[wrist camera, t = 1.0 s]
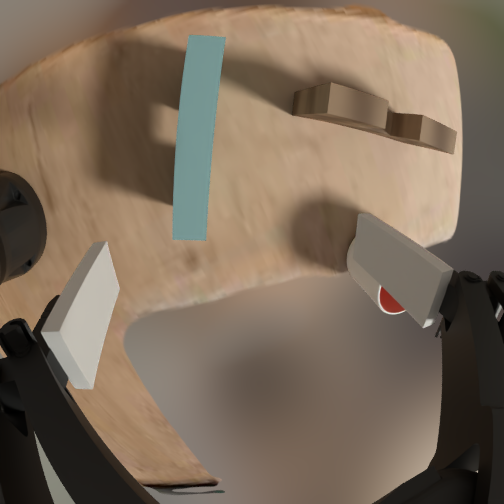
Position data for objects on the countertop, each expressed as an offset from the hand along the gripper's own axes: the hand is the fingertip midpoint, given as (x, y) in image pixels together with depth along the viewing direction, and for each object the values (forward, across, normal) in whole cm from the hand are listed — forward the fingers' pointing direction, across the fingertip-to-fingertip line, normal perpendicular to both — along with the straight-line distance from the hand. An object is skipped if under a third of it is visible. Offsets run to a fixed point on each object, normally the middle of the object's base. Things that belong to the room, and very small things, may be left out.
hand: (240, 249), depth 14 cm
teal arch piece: (+21, -1, +5) cm, 22 cm away
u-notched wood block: (+20, +19, +7) cm, 29 cm away
